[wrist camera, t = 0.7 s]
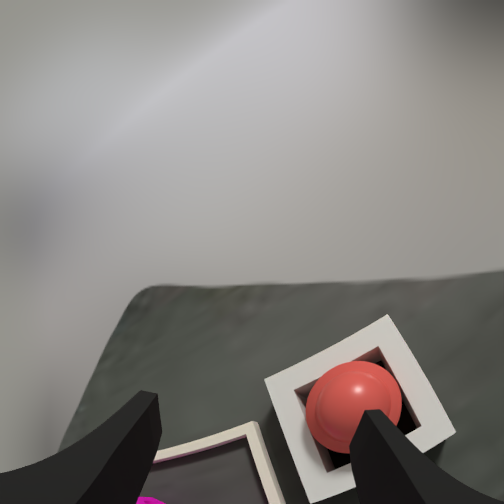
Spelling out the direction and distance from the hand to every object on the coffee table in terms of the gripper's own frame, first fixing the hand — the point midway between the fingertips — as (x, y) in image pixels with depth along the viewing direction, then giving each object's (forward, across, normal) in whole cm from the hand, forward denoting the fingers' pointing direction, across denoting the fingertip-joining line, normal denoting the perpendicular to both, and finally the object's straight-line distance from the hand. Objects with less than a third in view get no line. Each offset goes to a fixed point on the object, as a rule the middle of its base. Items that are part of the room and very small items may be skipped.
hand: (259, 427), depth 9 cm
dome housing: (+11, -10, +10) cm, 18 cm away
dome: (+10, -9, +9) cm, 16 cm away
